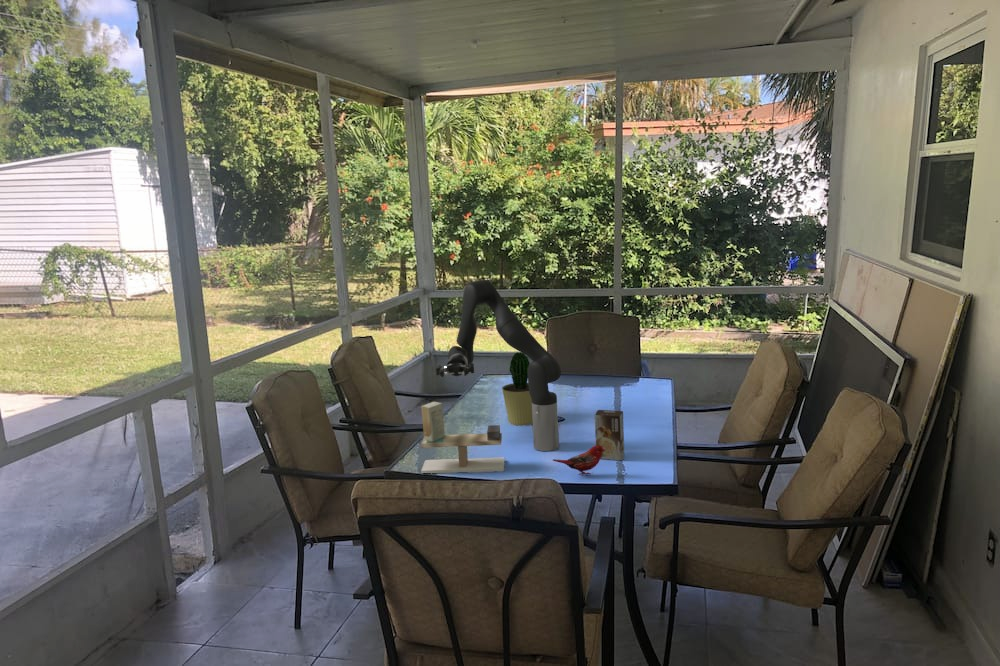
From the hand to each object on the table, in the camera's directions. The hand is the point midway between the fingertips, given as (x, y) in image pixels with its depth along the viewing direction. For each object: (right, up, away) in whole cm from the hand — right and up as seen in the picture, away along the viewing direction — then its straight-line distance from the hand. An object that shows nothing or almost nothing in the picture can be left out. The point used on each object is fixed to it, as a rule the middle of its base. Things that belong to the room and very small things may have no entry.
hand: (453, 373), depth 245 cm
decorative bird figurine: (+43, -32, -26) cm, 60 cm away
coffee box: (+56, -29, -11) cm, 63 cm away
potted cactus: (+26, -22, +34) cm, 48 cm away
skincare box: (-6, -22, -15) cm, 27 cm away
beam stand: (+4, -31, -14) cm, 35 cm away
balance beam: (+4, -23, -15) cm, 28 cm away
